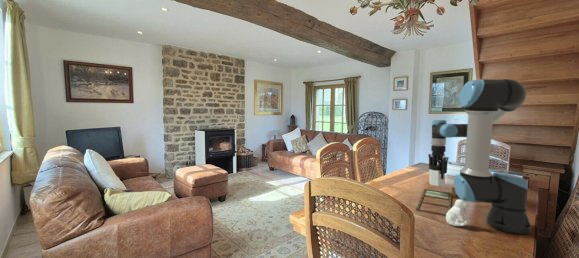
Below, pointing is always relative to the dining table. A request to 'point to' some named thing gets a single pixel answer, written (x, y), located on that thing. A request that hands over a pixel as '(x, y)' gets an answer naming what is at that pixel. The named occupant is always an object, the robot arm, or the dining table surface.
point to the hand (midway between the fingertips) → (437, 182)
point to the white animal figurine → (457, 214)
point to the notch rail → (436, 195)
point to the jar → (436, 176)
